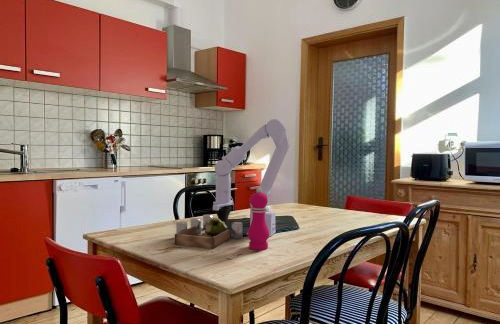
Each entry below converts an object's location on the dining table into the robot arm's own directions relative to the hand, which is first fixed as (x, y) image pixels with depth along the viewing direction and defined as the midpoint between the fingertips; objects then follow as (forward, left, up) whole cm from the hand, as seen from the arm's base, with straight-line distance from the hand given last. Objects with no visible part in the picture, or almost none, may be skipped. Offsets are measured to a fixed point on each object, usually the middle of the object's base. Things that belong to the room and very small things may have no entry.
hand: (223, 225), depth 149 cm
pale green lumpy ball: (0, +7, -2) cm, 8 cm away
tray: (0, +16, -2) cm, 16 cm away
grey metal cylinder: (+8, -3, -2) cm, 9 cm away
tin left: (-9, +7, -2) cm, 11 cm away
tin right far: (+10, +14, -2) cm, 17 cm away
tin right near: (+9, +6, -2) cm, 11 cm away
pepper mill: (-20, +16, -3) cm, 26 cm away
